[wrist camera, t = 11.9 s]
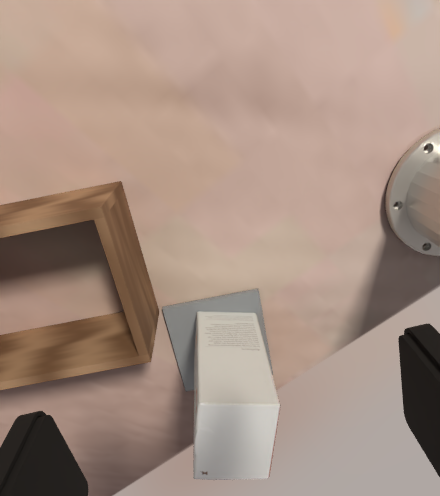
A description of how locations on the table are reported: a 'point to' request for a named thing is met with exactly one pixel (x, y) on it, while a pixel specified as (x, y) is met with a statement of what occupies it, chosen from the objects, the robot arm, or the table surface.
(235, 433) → the small box
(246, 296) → the pad
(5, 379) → the wooden cubby frame
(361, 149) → the table surface
